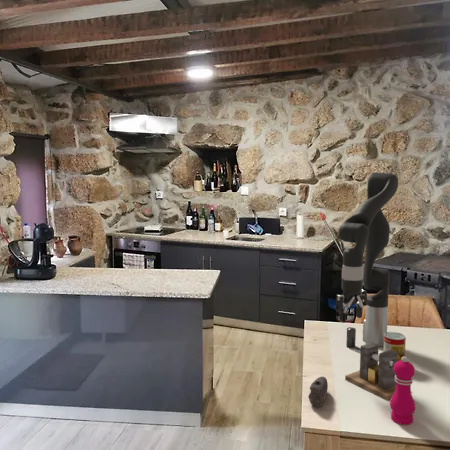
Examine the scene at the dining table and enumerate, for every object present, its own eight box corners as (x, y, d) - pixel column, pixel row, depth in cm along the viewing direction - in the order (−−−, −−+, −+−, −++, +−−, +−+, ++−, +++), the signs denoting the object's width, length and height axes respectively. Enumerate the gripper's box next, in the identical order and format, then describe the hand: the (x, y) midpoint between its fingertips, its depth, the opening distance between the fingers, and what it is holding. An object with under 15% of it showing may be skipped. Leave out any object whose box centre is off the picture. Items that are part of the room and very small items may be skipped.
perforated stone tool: (317, 387, 159) (317, 369, 158) (332, 390, 157) (332, 371, 156) (305, 408, 146) (305, 387, 145) (321, 411, 143) (322, 390, 143)
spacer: (367, 380, 161) (368, 367, 160) (377, 377, 164) (377, 364, 163) (374, 384, 158) (375, 370, 158) (384, 380, 161) (384, 367, 161)
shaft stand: (345, 379, 165) (346, 344, 164) (367, 371, 172) (368, 337, 170) (386, 400, 150) (388, 361, 149) (409, 390, 157) (410, 353, 155)
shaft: (344, 349, 170) (345, 328, 169) (350, 347, 172) (350, 326, 171) (388, 367, 154) (389, 345, 153) (394, 365, 156) (395, 343, 155)
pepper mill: (385, 413, 142) (387, 352, 140) (407, 412, 143) (410, 351, 140) (395, 426, 135) (398, 362, 132) (419, 425, 135) (422, 361, 133)
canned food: (408, 367, 175) (410, 337, 174) (393, 370, 172) (394, 340, 171) (394, 359, 182) (395, 330, 181) (378, 362, 179) (379, 333, 178)
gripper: (357, 272, 173) (356, 313, 176) (330, 277, 166) (329, 320, 168) (373, 276, 167) (372, 318, 169) (346, 282, 160) (345, 326, 162)
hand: (351, 319), depth 169 cm, fingers open, 8 cm apart
